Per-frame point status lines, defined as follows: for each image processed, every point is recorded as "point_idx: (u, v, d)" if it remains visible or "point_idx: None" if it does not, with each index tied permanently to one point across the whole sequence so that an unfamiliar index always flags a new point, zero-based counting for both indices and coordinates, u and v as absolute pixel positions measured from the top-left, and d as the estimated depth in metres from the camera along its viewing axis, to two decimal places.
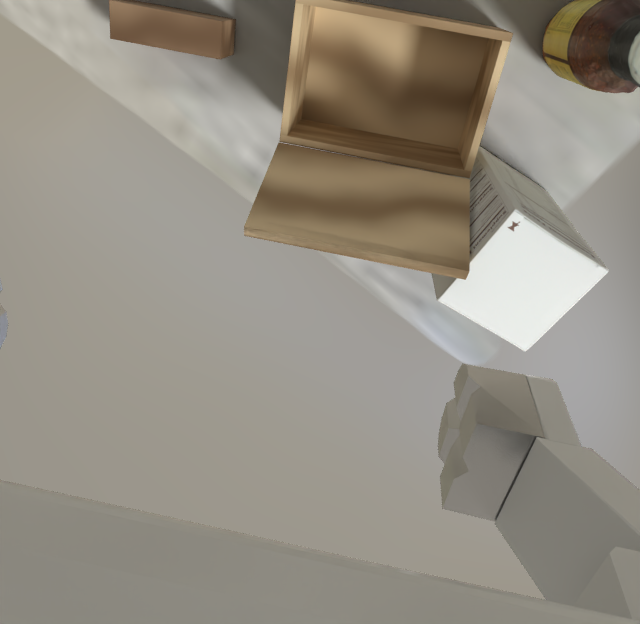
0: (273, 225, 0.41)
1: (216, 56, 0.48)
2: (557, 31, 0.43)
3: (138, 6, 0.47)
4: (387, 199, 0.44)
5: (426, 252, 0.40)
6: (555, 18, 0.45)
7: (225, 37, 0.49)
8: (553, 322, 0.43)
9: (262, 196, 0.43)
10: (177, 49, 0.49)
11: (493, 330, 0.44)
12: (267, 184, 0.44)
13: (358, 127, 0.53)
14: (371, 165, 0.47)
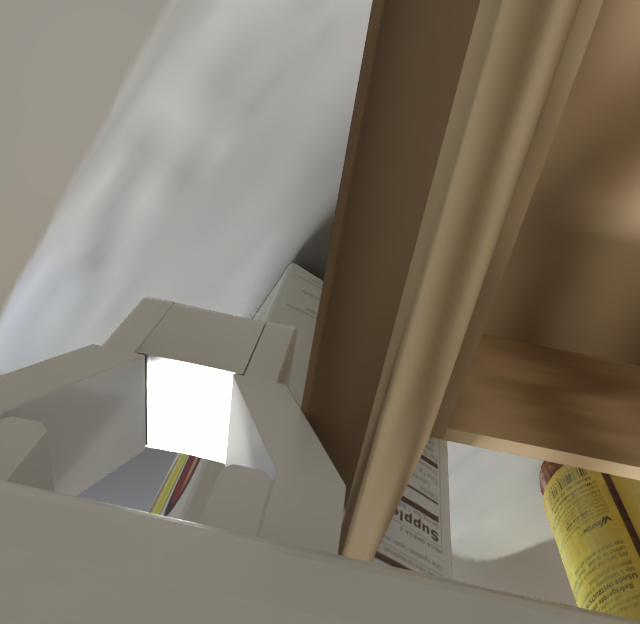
0: None
1: None
2: None
3: None
4: (440, 363, 0.13)
5: None
6: None
7: None
8: None
9: None
10: None
11: None
12: None
13: None
14: (494, 242, 0.16)
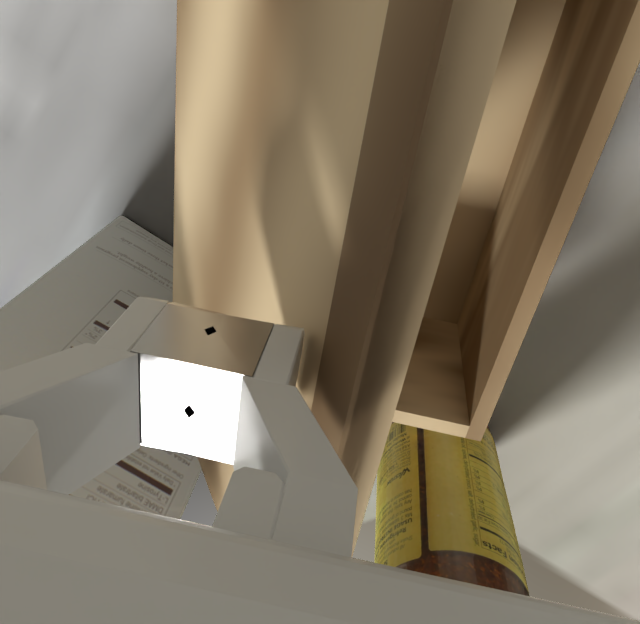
0: None
1: None
2: (464, 467, 0.25)
3: None
4: None
5: None
6: None
7: None
8: None
9: None
10: None
11: None
12: None
13: None
14: None
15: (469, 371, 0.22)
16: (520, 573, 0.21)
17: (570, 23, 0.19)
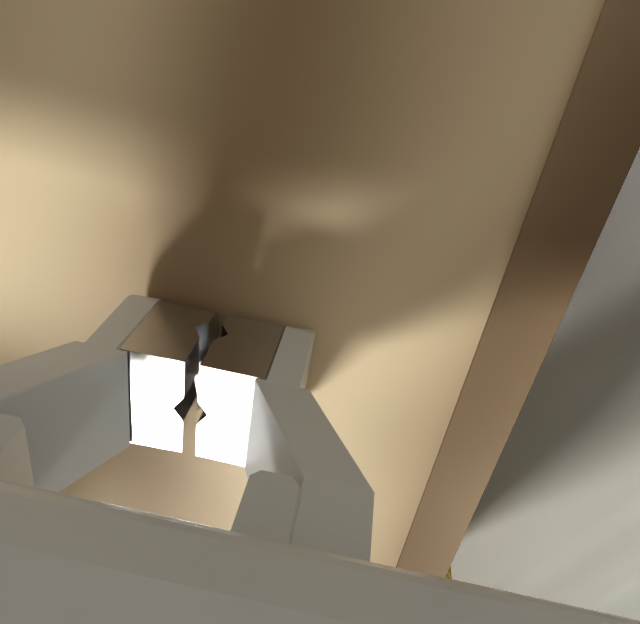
0: None
1: None
2: None
3: None
4: None
5: None
6: None
7: None
8: None
9: None
10: None
11: None
12: None
13: None
14: None
15: None
16: None
17: None
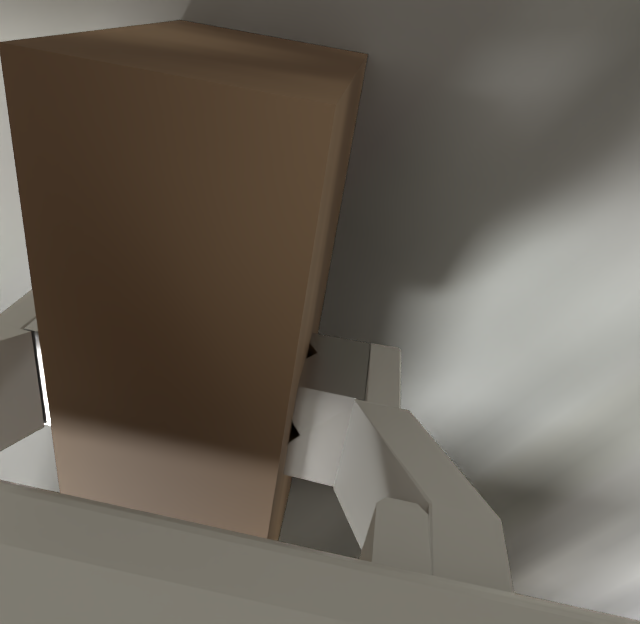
0: None
1: None
2: None
3: (291, 348, 0.06)
4: None
5: None
6: None
7: None
8: None
9: None
10: None
11: None
12: None
13: None
14: None
15: None
16: None
17: None
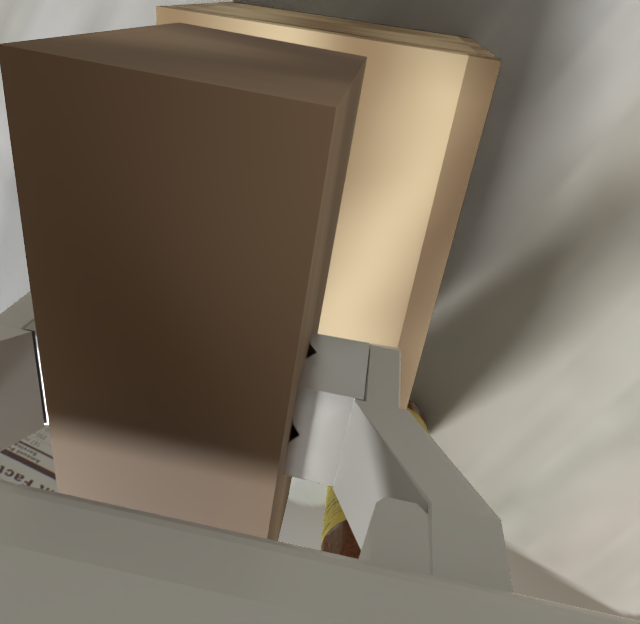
0: None
1: None
2: None
3: (290, 351, 0.06)
4: None
5: None
6: None
7: None
8: None
9: None
10: None
11: None
12: None
13: None
14: None
15: None
16: None
17: None
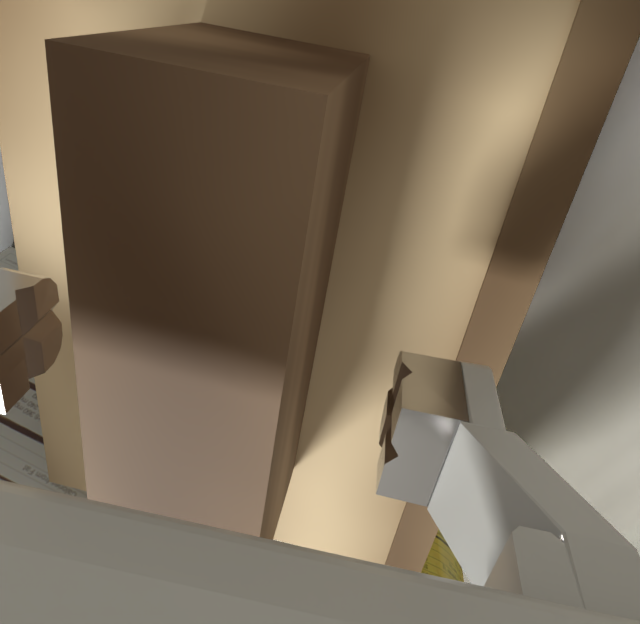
0: None
1: None
2: None
3: (289, 312, 0.07)
4: None
5: None
6: None
7: None
8: None
9: None
10: (91, 462, 0.09)
11: None
12: None
13: None
14: None
15: None
16: None
17: None
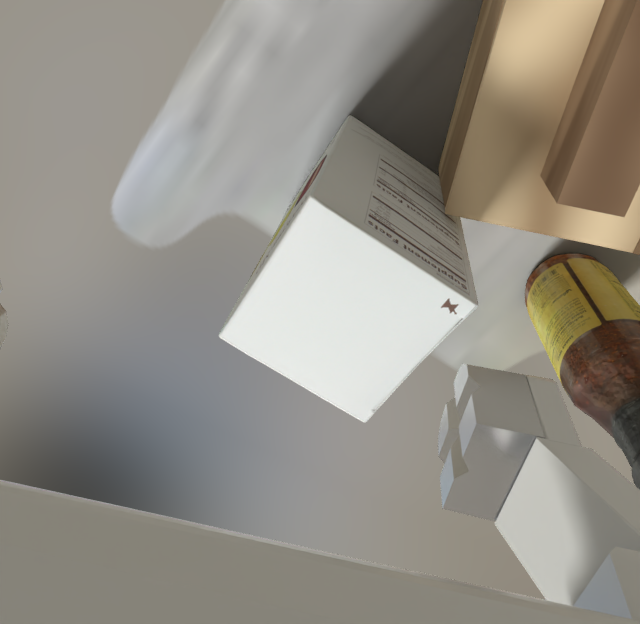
0: None
1: (563, 197, 0.25)
2: (612, 285, 0.35)
3: None
4: None
5: None
6: (607, 270, 0.38)
7: None
8: (276, 369, 0.28)
9: None
10: (595, 115, 0.23)
11: (255, 290, 0.26)
12: None
13: None
14: None
15: None
16: None
17: None
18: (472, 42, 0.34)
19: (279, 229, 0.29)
